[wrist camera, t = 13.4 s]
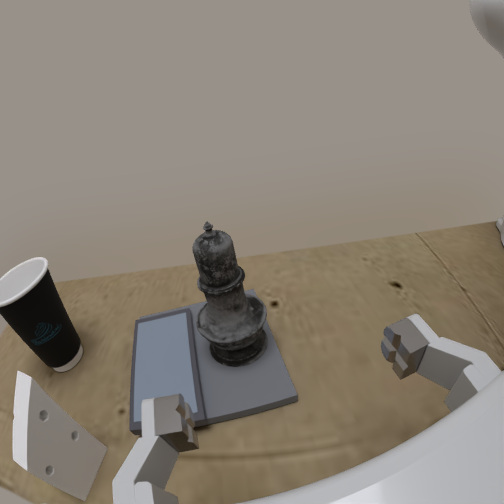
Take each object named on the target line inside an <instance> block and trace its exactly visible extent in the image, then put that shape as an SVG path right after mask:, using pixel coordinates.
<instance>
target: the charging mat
mask: <svg viewBox="0 0 504 504" xmlns="http://www.w3.org/2000/svg"><path fill="white" fill-rule="evenodd" d="M244 293H247V294H251V295H253V296H256V293H255V291H254V289H251V290H248V291H244ZM256 297H257V296H256ZM206 303H207V301H205V302H201V303H197V304H193V305H189V306H185V307H181V308H177V309H172V310H168V311H164V312H160V313H156V314H151V315H147V316H143V317H140V319H143V318H148V317H152V316H156V315H161V314H165V313H169V312H173V311H178V310H182V309H186V308H190V310H191V313H192V320H193V328H194V336H195V344H196V352H197V359H198V366H199V373H200V380H201V386H202V393H203V399H204V405H205V411H206V417H207V422H208V424H213V423H218V422H223V421H227V420H231V419H236V418H240V417H244V416H248V415H252V414H255V413H259V412H263V411H266V410H270V409H273V408H277V407H280V406H283V405H287V404H290V403H293V402H296V401H298V397H297V393H296V390H295V388H294V386H293V383H292V381H291V378H290V376H289V374H288V371H287V369H286V366H285V364H284V362H283V359H282V357H281V354H280V352H279V350H278V347H277V345H276V342H275V340H274V337H273V335H272V333H271V330H270V328H269V325H268V323H267V320H266V321H265V322H264V325H263V330H264V331H265V333H266V334H267V338H268V345H267V349H266V350H265V352H264V354H263V355H262V356H261V357H260V358H259V359H258V360H256V361H254V362H253V363H251V364H248V365H245V366H239V367H230V366H225V365H222V364H220V363H219V362H217V361H216V360H215V359H214V358H213V357H212V355H211V352H210V349H209V348H210V342H209V341H208V340H207V339H206V338H205V337H203V336H202V335H201V334H200V333H199V331H198V329H197V326H196V317H197V315H198V313H199V311H200V309H201V308H202V307H203V306H204V305H205V304H206ZM208 424H206V425H208ZM201 426H203V425H201ZM196 427H198V426H196ZM141 435H142V434H141Z"/></svg>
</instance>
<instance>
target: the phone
mask: <svg viewBox="0 0 504 504" xmlns="http://www.w3.org/2000/svg"><path fill="white" fill-rule="evenodd" d="M179 393H181V394H182V396H183V397H184V402H186V403H188V404H189V405H190V407H191V409H192V412H193V415H194V419H195V426H194V427H196V426H201V425H206V424H208V422H207V417H206V411H205V405H204V399H203V393H202V386H201V380H200V373H199V366H198V359H197V352H196V344H195V336H194V328H193V320H192V313H191V310H190V308H186V309H182V310H178V311H173V312H169V313H165V314H161V315H156V316H152V317H148V318H143V319H139V320H136V322H135V331H134V342H133V355H132V369H131V388H130V431H131V432H132V433H133V434H134V435H141V434H142V422H141V404H142V400H145V399H151V398H157V397H163V396H169V395H174V394H179Z"/></svg>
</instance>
